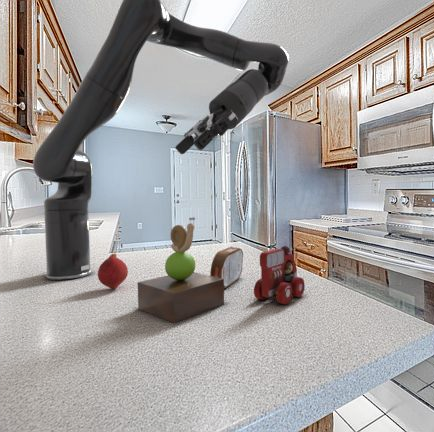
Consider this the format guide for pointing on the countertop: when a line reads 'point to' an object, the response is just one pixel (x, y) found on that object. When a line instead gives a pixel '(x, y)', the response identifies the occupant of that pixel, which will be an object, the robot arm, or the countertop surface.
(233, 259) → the tin
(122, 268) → the onion
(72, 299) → the countertop surface
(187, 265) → the green tan rounded piece
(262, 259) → the toy fire truck
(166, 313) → the walnut block
